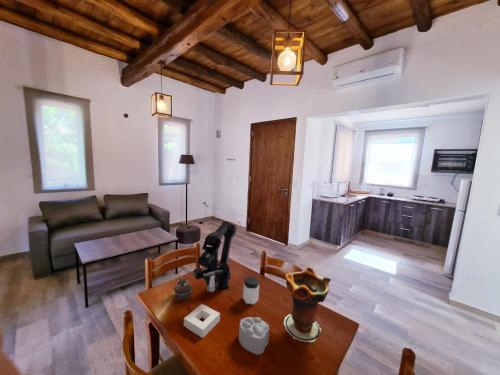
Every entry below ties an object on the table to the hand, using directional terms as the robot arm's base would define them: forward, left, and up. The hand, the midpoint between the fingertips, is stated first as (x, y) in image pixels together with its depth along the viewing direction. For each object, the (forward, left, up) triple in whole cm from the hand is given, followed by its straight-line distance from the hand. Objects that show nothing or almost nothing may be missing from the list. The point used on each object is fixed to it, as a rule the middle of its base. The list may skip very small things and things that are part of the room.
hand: (211, 285), depth 110 cm
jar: (-22, +6, -11) cm, 26 cm away
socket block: (+8, +11, -11) cm, 18 cm away
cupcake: (+12, -13, -11) cm, 21 cm away
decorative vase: (-35, +34, -11) cm, 50 cm away
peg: (0, 0, -3) cm, 3 cm away
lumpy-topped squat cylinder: (-9, +30, -12) cm, 33 cm away
